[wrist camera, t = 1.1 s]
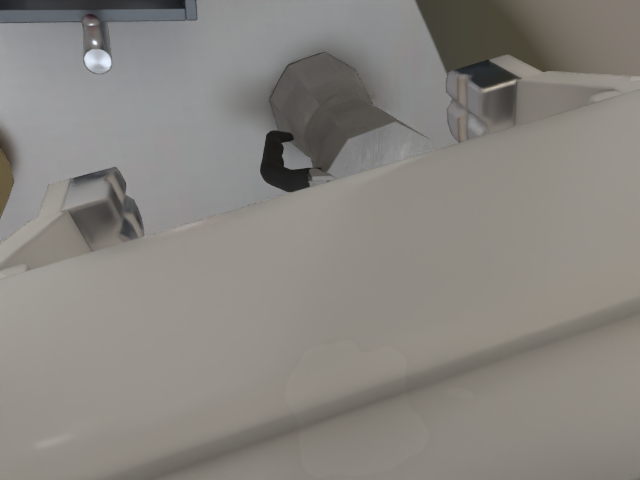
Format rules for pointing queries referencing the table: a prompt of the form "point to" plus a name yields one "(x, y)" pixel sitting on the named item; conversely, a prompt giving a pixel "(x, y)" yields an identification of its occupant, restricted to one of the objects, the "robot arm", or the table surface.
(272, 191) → the table surface
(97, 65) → the square frame
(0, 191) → the squeeze bottle
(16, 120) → the table surface
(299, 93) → the coffeepot
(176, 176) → the table surface
